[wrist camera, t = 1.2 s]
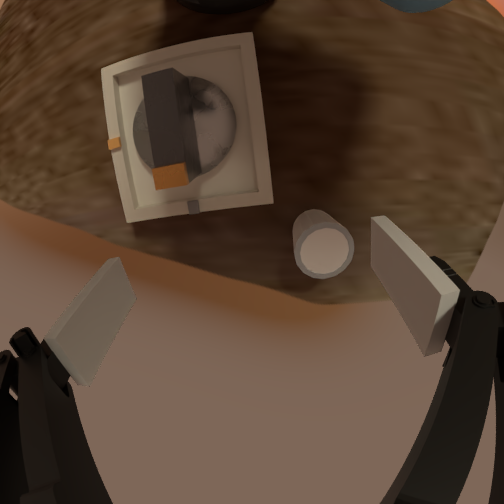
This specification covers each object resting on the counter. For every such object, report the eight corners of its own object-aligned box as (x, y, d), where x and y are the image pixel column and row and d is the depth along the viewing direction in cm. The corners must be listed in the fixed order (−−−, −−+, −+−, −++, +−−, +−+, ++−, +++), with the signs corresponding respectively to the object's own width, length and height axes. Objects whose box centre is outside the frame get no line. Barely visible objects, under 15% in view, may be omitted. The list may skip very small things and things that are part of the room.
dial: (129, 91, 27) (95, 84, 20) (229, 68, 26) (221, 50, 19) (144, 185, 32) (115, 203, 25) (243, 169, 31) (238, 183, 24)
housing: (113, 72, 27) (99, 68, 24) (252, 40, 26) (252, 30, 23) (137, 214, 36) (125, 224, 32) (272, 196, 35) (273, 204, 31)
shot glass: (276, 231, 37) (281, 255, 30) (313, 193, 34) (326, 209, 28) (313, 262, 39) (323, 290, 32) (348, 227, 36) (366, 249, 30)
